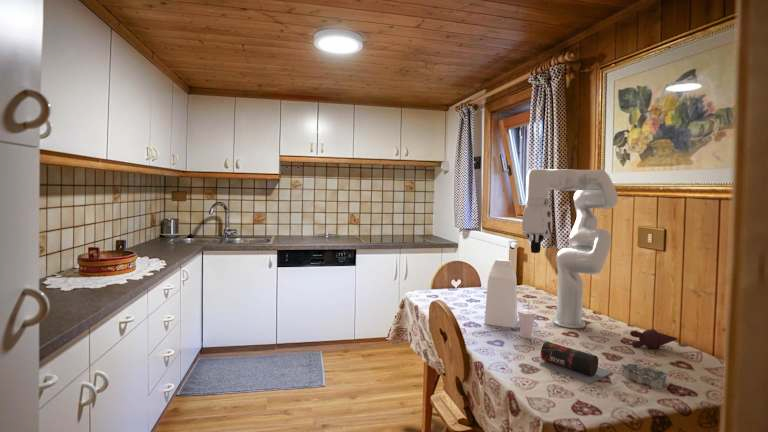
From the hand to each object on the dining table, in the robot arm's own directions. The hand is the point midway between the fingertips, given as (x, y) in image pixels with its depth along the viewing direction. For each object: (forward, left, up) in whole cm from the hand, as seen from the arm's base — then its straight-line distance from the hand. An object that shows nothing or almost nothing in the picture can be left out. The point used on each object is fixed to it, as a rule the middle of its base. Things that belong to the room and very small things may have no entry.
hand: (535, 252), depth 151 cm
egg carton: (+2, +39, -32) cm, 51 cm away
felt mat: (+13, +24, -32) cm, 42 cm away
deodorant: (+15, +15, -29) cm, 36 cm away
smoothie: (+1, -2, -32) cm, 32 cm away
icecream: (-28, +30, -32) cm, 52 cm away
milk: (-6, -19, -32) cm, 38 cm away
